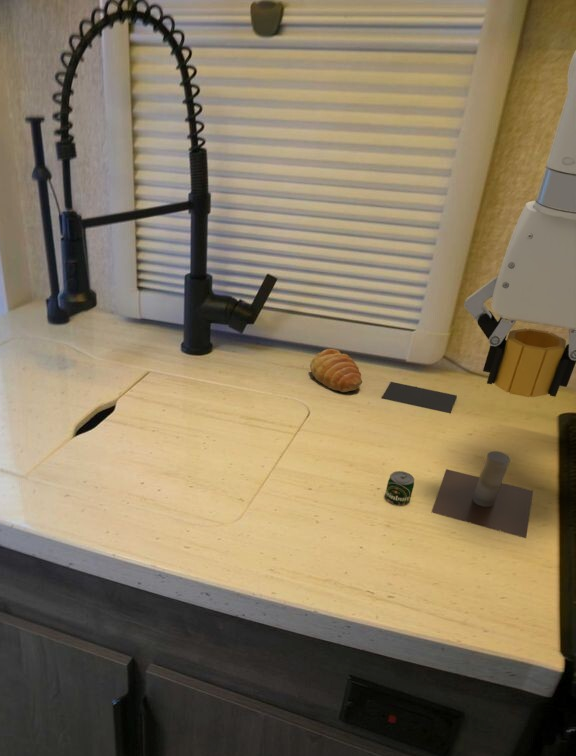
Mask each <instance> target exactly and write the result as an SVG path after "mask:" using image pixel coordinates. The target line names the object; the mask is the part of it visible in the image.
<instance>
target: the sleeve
mask: <svg viewBox="0 0 576 756" xmlns="http://www.w3.org/2000/svg"><path fill="white" fill-rule="evenodd" d="M506 340H507V342H506V345H505V350H504V353H503V357H502V360H501V363H500V366H499V370H498V373H497V376H496V379H495V383H493V384H494V386H496V387H498V388H499V389H500V390H502V391H504V392H505V393H509V394H511V395H516V396H520V397H526V398H530V397H531V398H537V397H542V396H546V395H549V394H548V392H549V389H550V387H551V384H552V381H553V378H554V376H555V373H556V370H557V367H558V365H559V362H560V359H561V358H562V355H563V352H564V350H565V348H566V345H567V344H566V343H567V340H565V338H563V337H562V336H559V335H558V334H555V333H553V332H549V331H547V330H541V329H536V328H519V329H513V330H510V331H509V332H508V334H507V337H506Z"/></svg>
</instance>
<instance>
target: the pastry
mask: <svg viewBox="0 0 576 756" xmlns="http://www.w3.org/2000/svg"><path fill="white" fill-rule="evenodd" d="M309 368H310V372H311V375H312V376H313V377H314V378H315V380H316V381H318V382H319V383H321V384H322V385H323V386H324V387H327V388H328V389H331V390H332V391H338V392H340V393H347V392H350V391H351V392H352V391H355V390H358V389H359V387H360V386H361V385H362V383H363V379H362V373H361V371H360V369H359V366H358V365H357V363H356V362H355V360H354V359H353V358H351V357H350V355H348V354H347V353H341V352H340V350H338V349H335V348H326V349H323V350H322V351H321V352H318V353H317V354H316V355H315V356H314V357H313V358H312V359H311V361H310V363H309Z"/></svg>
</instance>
